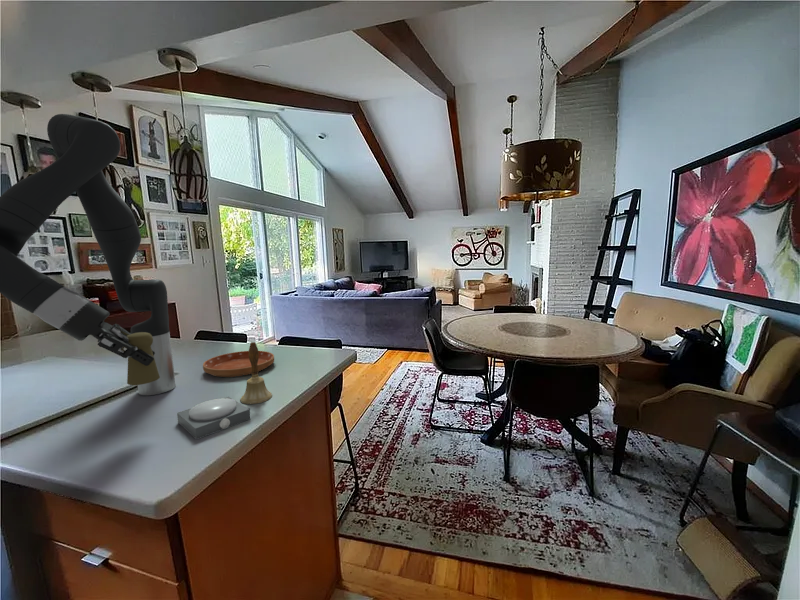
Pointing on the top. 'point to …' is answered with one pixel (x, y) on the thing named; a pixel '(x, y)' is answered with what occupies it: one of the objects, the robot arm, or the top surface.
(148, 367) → the cork
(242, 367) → the saucer
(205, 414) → the scale
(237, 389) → the top surface
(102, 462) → the top surface
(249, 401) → the hand bell
